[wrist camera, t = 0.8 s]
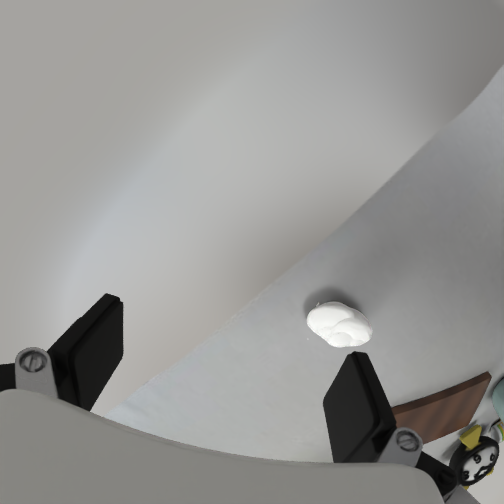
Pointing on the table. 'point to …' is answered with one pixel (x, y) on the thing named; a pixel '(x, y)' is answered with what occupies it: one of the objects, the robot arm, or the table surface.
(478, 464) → the alarm clock
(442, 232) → the table surface
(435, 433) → the bread board
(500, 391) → the cup
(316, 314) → the dumpling
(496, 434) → the supplement bottle
